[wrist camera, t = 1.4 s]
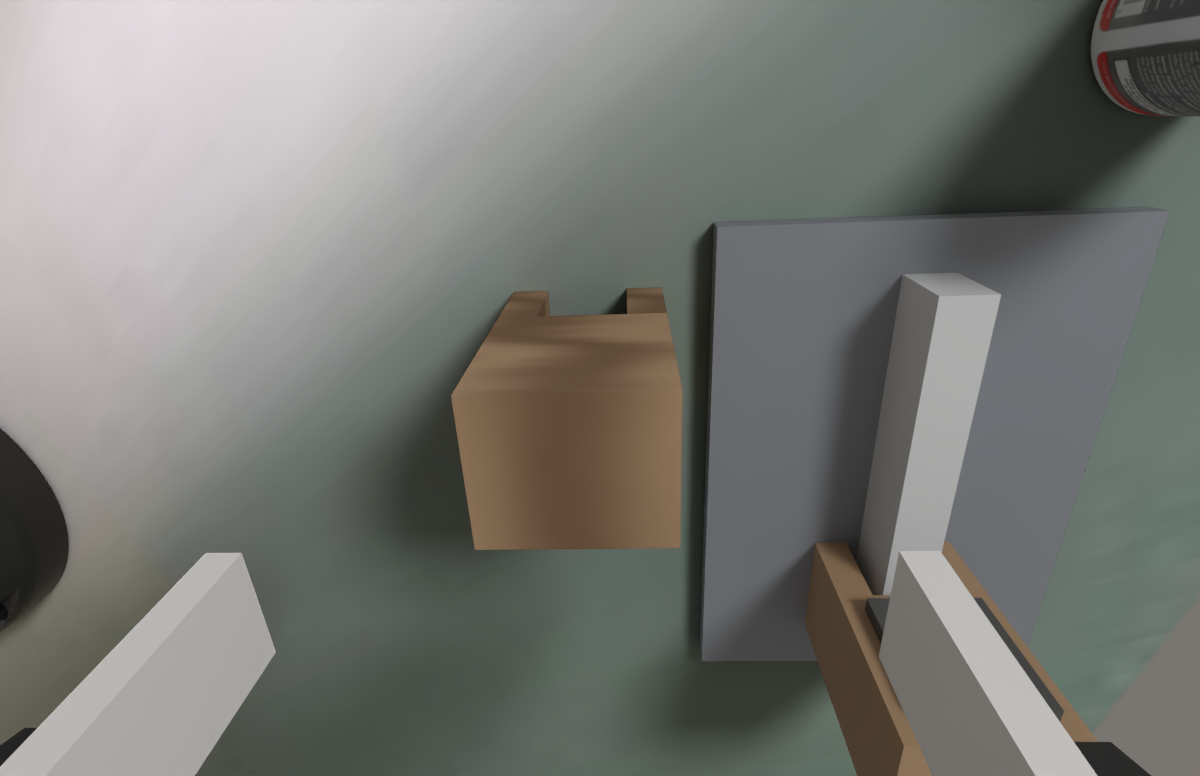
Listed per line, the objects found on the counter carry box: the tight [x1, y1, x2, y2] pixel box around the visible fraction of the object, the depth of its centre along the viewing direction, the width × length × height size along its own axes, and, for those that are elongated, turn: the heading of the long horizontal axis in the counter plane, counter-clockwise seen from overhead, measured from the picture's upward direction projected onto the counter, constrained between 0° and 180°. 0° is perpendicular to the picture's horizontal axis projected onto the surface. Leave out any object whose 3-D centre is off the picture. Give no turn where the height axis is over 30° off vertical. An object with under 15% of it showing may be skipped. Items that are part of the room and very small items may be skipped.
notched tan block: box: [451, 287, 683, 550], centre depth 22 cm, size 6×6×10 cm
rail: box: [700, 207, 1170, 776], centre depth 23 cm, size 16×22×11 cm
